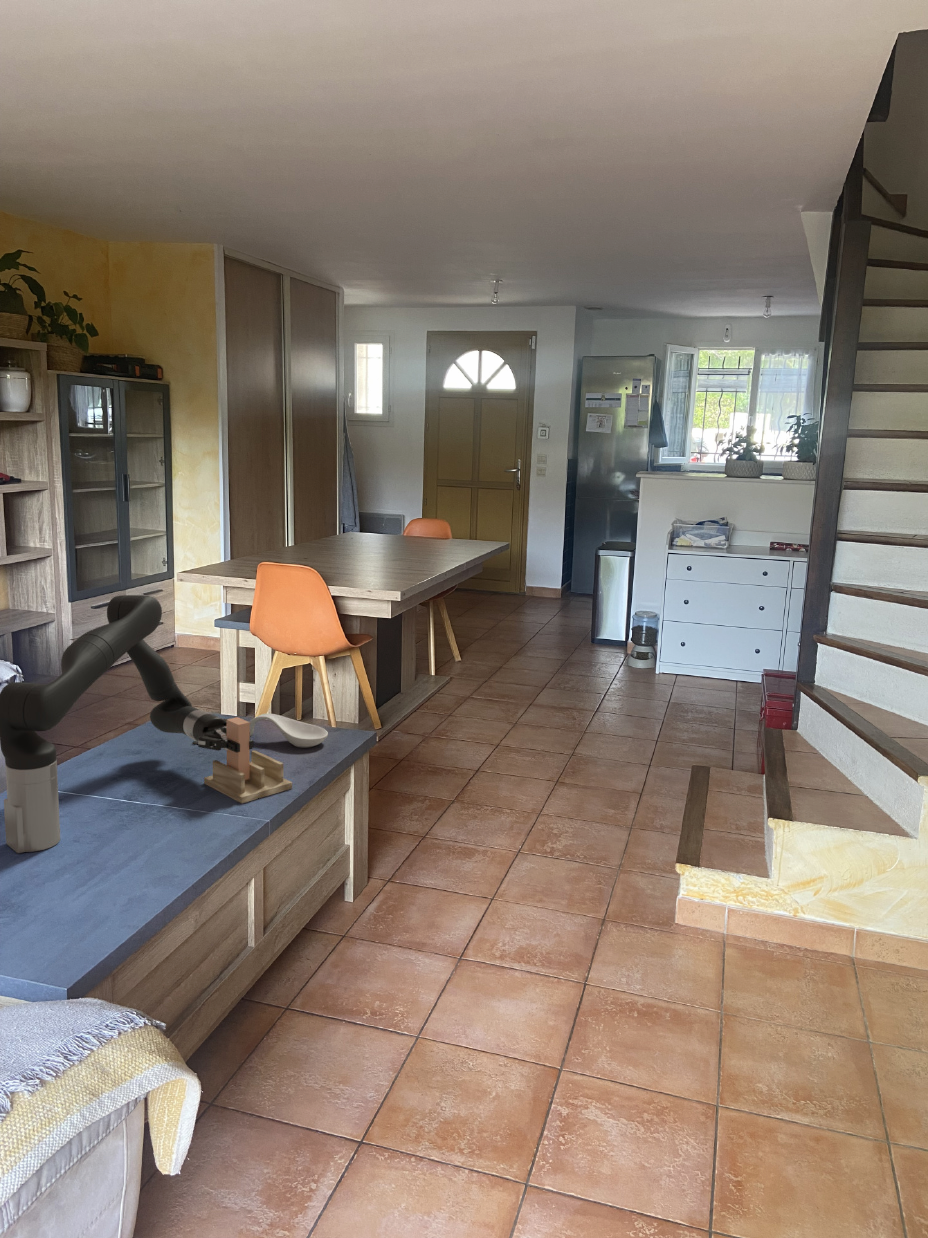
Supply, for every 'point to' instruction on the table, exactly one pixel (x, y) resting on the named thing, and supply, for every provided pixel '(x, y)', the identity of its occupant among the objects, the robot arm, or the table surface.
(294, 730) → the spoon rest
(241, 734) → the clay slat
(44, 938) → the table surface
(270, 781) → the wooden slotted stand
